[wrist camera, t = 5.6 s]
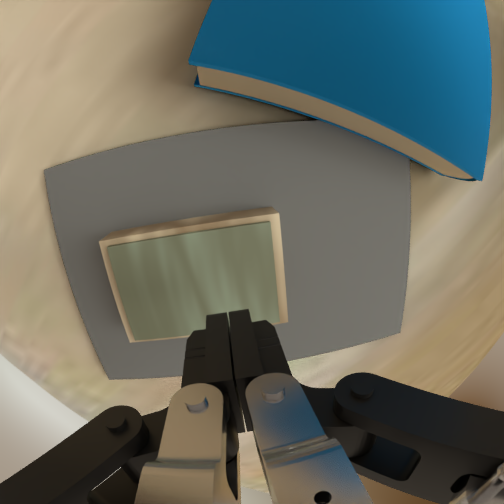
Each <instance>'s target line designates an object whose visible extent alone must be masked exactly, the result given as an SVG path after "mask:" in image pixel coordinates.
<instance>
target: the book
mask: <svg viewBox="0 0 504 504" xmlns="http://www.w3.org/2000/svg"><path fill="white" fill-rule="evenodd" d="M188 62H189V65H194V66H197V71H198V74H197V77H196V80H195V83H194V86H196V87H201V88H206V89H211V90H215V91H220V92H225V93H229V94H233V95H237V96H241V97H245V98H249V99H253V100H257V101H260V102H264V103H268V104H271V105H275V106H278V107H281V108H284V109H288V110H291V111H294V112H297V113H300V114H303V115H306V116H309V117H312V118H315V119H318V120H321V121H323V122H326V123H329V124H331V125H334V126H337V127H339V128H342V129H344V130H347V131H349V132H352V133H354V134H357V135H359V136H362V137H364V138H366V139H369V140H371V141H373V142H376V143H378V144H380V145H382V146H384V147H387V148H389V149H391V150H393V151H395V152H397V153H399V154H401V155H403V156H405V157H407V158H409V159H411V160H413V161H415V162H417V163H419V164H421V165H423V166H425V167H427V168H429V169H431V170H432V171H434V172H436V173H438V174H440V175H442V176H447V177H451V178H455V179H459V180H464V181H476V180H479V181H482V179H483V174H484V168H485V162H486V155H487V147H488V139H489V129H490V117H491V96H492V69H491V49H490V37H489V28H488V20H487V13H486V7H485V1H484V0H212V2H211V4H210V7H209V9H208V11H207V14H206V16H205V18H204V21H203V23H202V26H201V28H200V31H199V33H198V36H197V38H196V41H195V44H194V46H193V49H192V52H191V55H190V57H189V60H188Z"/></svg>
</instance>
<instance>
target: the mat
mask: <svg viewBox="0 0 504 504" xmlns="http://www.w3.org/2000/svg"><path fill="white" fill-rule="evenodd" d="M44 174H45V181H46V187H47V193H48V199H49V204H50V209H51V214H52V219H53V223H54V228H55V232H56V236H57V240H58V244H59V248H60V252H61V255H62V259H63V263H64V266H65V269H66V273H67V276H68V279H69V282H70V285H71V288H72V291H73V294H74V297H75V300H76V303H77V306H78V308H79V311H80V314H81V317H82V319H83V322H84V324H85V327H86V329H87V332H88V334H89V337H90V339H91V341H92V344H93V346H94V348H95V351H96V353H97V355H98V357H99V359H100V362H101V364H102V366H103V368H104V370H105V372H106V374H107V376H108V378H109V380H114V379H144V378H162V377H175V376H183V367H184V359H185V351H186V342H187V339H188V337H184V338H175V339H165V340H155V341H144V342H131V343H130V341H129V339H128V336H127V333H126V330H125V328H124V325H123V322H122V319H121V316H120V313H119V310H118V307H117V304H116V301H115V298H114V295H113V291H112V288H111V285H110V281H109V278H108V274H107V271H106V267H105V264H104V260H103V256H102V252H101V248H100V244H99V241H100V240H101V239H103V238H104V237H105V236H107V235H108V234H109V233H111V232H113V231H119V230H124V229H130V228H135V227H141V226H146V225H152V224H158V223H164V222H170V221H176V220H182V219H188V218H195V217H201V216H208V215H214V214H221V213H228V212H235V211H242V210H250V209H257V208H265V207H273V208H274V209H275V210H276V211H277V212H278V213H279V217H280V227H281V238H282V249H283V261H284V273H285V285H286V298H287V312H288V322H286V323H281V324H275V325H273V326H274V327H275V329H276V332H277V335H278V338H279V340H280V343H281V346H282V349H283V352H284V354H285V357H286V360H287V361H291V360H296V359H301V358H305V357H310V356H315V355H319V354H324V353H328V352H332V351H336V350H340V349H344V348H348V347H352V346H356V345H360V344H363V343H367V342H371V341H374V340H378V339H381V338H385V337H388V336H391V335H394V334H398V333H400V331H401V325H402V318H403V311H404V304H405V296H406V287H407V276H408V265H409V250H410V227H411V183H410V160H409V158H407V157H405V156H403V155H401V154H399V153H397V152H395V151H393V150H391V149H389V148H387V147H384V146H382V145H380V144H378V143H376V142H373V141H371V140H369V139H366V138H364V137H362V136H359V135H357V134H354V133H352V132H349V131H347V130H344V129H342V128H339V127H337V126H334V125H331V124H329V123H326V122H323V121H321V120H320V121H294V122H278V123H265V124H254V125H244V126H235V127H227V128H219V129H212V130H205V131H199V132H192V133H186V134H181V135H175V136H170V137H164V138H159V139H154V140H150V141H145V142H140V143H136V144H132V145H127V146H123V147H119V148H115V149H111V150H107V151H104V152H100V153H96V154H93V155H89V156H86V157H82V158H79V159H76V160H72V161H69V162H66V163H63V164H60V165H57V166H54V167H51V168H48V169H45V170H44Z"/></svg>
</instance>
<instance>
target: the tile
mask: <svg viewBox="0 0 504 504" xmlns="http://www.w3.org/2000/svg"><path fill="white" fill-rule="evenodd" d="M99 244H100V248H101V252H102V256H103V260H104V264H105V267H106V271H107V274H108V278H109V281H110V285H111V288H112V291H113V295H114V298H115V301H116V304H117V307H118V310H119V313H120V316H121V319H122V322H123V325H124V328H125V330H126V333H127V336H128V339H129V341H130V343H131V342H144V341H155V340H165V339H175V338H184V337H189V336H190V335H191V333H192V332H193V331H195V330H202V329H206V315H210V314H217V313H224V312H227V315H228V320H229V313H228V312H230V311H237V310H243V309H249V312H250V316H251V321H252V322H256V321H262V320H267V321H268V322H269V323H271V324H272V325H275V324H281V323H286V322H288V312H287V298H286V285H285V273H284V261H283V249H282V238H281V227H280V217H279V213H278V212H277V211H276V210H275V209H274V208H273V207H265V208H257V209H250V210H242V211H235V212H228V213H221V214H214V215H208V216H201V217H195V218H188V219H182V220H176V221H170V222H164V223H158V224H152V225H146V226H141V227H135V228H130V229H124V230H119V231H113V232H111V233H109V234H108V235H107V236H105V237H104V238H103V239H101V240H100V241H99ZM229 326H230V323H229Z"/></svg>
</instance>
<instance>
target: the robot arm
mask: <svg viewBox="0 0 504 504" xmlns="http://www.w3.org/2000/svg"><path fill="white" fill-rule="evenodd" d="M228 313H229V320H228V315H227V312H224V313H217V314H210V315H206V329H202V330H195V331H193V332H192V333H191V335H190V336H189V337H188V339H187V342H186V351H185V359H184V367H183V376H182V385H181V389H180V390H178V391H177V392H176V393H175V394H174V395H173V396H172V398H171V400H170V404H169V407H167V408H165V409H163V410H161V411H158V412H154V413H151V414H147V415H144V416H141V415H140V413H139V412H138V411H137V410H136V409H134V408H132V407H129V406H114V407H111V408H109V409H107V410H105V411H103V412H102V413H101V414H99V415H98V416H96V417H95V418H94V419H92V420H91V421H90V422H88V423H87V424H86V425H84V426H83V427H81V428H80V429H79V430H77V431H76V432H75V433H73V434H72V435H70V436H69V437H68V438H66V439H65V440H63V441H62V442H61V443H59V444H58V445H57V446H55V447H54V448H52V449H51V450H49V451H48V452H47V453H45V454H44V455H42V456H41V457H39V458H38V459H36V460H35V461H34V462H32V463H30V464H29V465H28V466H26V467H25V468H23V469H22V470H20V471H19V472H17V473H16V474H14V475H13V476H11V477H10V478H8V479H7V480H5V481H3V482H2V483H0V504H241V488H240V454H239V440H238V433H242V432H245V427H244V419H245V423H246V428H247V432H248V431H253V433H254V438H255V442H256V447H257V451H258V455H259V459H260V462H261V466H262V469H263V473H264V476H265V479H266V483H267V486H268V489H269V493H270V496H271V499H272V503H273V504H373V502H372V500H371V498H370V496H369V495H368V493H367V491H366V489H365V487H364V486H363V484H362V482H361V480H360V478H359V477H358V475H357V473H358V474H360V475H363V476H365V477H367V478H369V479H372V480H374V481H376V482H379V483H381V484H384V485H387V486H389V487H392V488H394V489H397V490H400V491H403V492H405V493H408V494H411V495H414V496H417V497H420V498H423V499H426V500H429V501H433V502H436V503H439V504H504V412H503V411H498V410H494V409H490V408H485V407H481V406H478V405H473V404H470V403H466V402H462V401H458V400H455V399H451V398H448V397H444V396H441V395H437V394H434V393H430V392H427V391H424V390H421V389H417V388H414V387H411V386H408V385H405V384H402V383H398V382H395V381H392V380H389V379H386V378H383V377H381V376H378V375H375V374H371V373H362V372H361V373H354V374H350V375H348V376H346V377H344V378H342V379H341V380H340V381H339V382H338V383H337V385H336V387H335V388H312V387H308V386H305V385H302V384H301V383H299V382H298V381H297V380H296V379H295V378H294V377H293V376H292V374H291V371H290V368H289V366H288V363H287V360H286V357H285V354H284V352H283V349H282V346H281V343H280V340H279V338H278V335H277V332H276V329H275V327H274V326H273V325H272V324H271V323H269V322H268V321H267V320H262V321H256V322H252V321H251V316H250V312H249V309H243V310H237V311H230V312H228ZM229 323H230V326H229ZM242 410H243V412H242ZM243 415H244V419H243ZM120 467H121V468H120ZM119 468H120V469H119ZM117 469H119V470H117ZM116 470H117V471H116ZM115 471H116V472H115ZM114 472H115V473H114ZM112 473H114V474H113V475H111V474H112ZM110 475H111V476H110ZM109 476H110V477H109ZM108 477H109V478H108ZM106 478H108V479H106ZM105 479H106V480H105ZM104 480H105V481H104ZM103 481H104V482H103ZM101 482H103V483H101ZM100 483H101V484H100ZM99 484H100V485H99ZM98 485H99V486H98ZM96 486H98V487H96ZM95 487H96V488H95ZM94 488H95V489H94ZM92 489H94V490H92Z"/></svg>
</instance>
